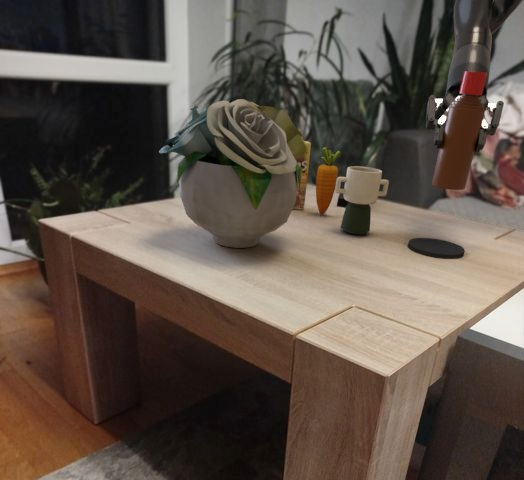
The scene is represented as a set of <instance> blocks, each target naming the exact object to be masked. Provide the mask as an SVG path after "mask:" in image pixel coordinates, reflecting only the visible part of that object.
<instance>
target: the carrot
mask: <svg viewBox="0 0 524 480" xmlns="http://www.w3.org/2000/svg"><path fill="white" fill-rule="evenodd" d="M321 150H322V153H323V156H322V157H321V160H322V161H323V164H320V165H319V166H318V168H317V171H316V181H315V199H316V200H315V201H316V206H317V209H318V212H319V214H320V216H324V215H325V214H326V212H327V211H328V209H329V207H330V205H331V203H332V200H333V196H334V194H335V187H336V180H337V178H338V174H339V168H338V166H336V165H334V163H335V162H336V160H337V159H338V157H339V156H340V155H341V154H342V153H341V151H340V150H337V151H336V152H335V153H332V151H331V150H330V149H327V147H326V146H325V147H323V148H322V149H321Z"/></svg>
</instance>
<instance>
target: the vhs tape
mask: <svg viewBox="0 0 524 480" xmlns="http://www.w3.org/2000/svg"><path fill="white" fill-rule="evenodd" d="M340 189H344V187H340ZM343 195H344V194H339V193H338V197H337V203H336V204H337V205H336V206H337V207H343V208H346V206H347V204H348V203H349V202H348V201H346V200H345V199H344V196H343Z"/></svg>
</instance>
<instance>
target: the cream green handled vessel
mask: <svg viewBox="0 0 524 480" xmlns="http://www.w3.org/2000/svg"><path fill="white" fill-rule="evenodd" d="M382 176H383V171H382V170H381V169H379V168H374V167H369V166H360V165H359V166H358V165H356V166H348V167H347V168H346V175H345V176H337V180H336V186H335V191H334V193H336V194H338V195H339V194H344V195H343V196H344V199H345V200H346V201H348V202H349V203H348V204H347V206H346V207H345V209H344V213H343V215H342V219H341V224H340V229H342V230H343V231H345V232H346V233H350V234H355V235H363V234H364V235H365V234H368V233H369V232H370V231H371V217H372V216H371V215H372V213H371V212H372V208H371V205H373V204H376V203H377V201H378V197H386V196H387V195H388V190H389V184H390V181H389V179H383V178H382ZM342 183H344V187H343V188H344V189H341V184H342ZM381 185H383V188H382V190H380V187H381Z"/></svg>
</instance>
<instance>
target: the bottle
mask: <svg viewBox="0 0 524 480" xmlns="http://www.w3.org/2000/svg"><path fill="white" fill-rule="evenodd" d="M484 108H485V106H483V103H481V100H479V96H478V95H470V94H463V95H460V98H457V101H454V103H451V105H450V106H449V108H448V113H447V117H446V122H445V126H444V133H443V140H442V144H441V147H440V149H438V153H437V158H436V162H435V166H434V171H433V175H432V180H431V186H433V187H435V188H439V189H443V190H449V191H450V190H453V191H462V190H465V189H466V187H467V182H468V178H469V174H470V171H471V167H472V163H473V159H474V156H475V153H476V152H475V148H476V144H477V140H478V136H479V132H480V129H481V125H482V121H483V117H484V114H485V113H486V111H485V109H484Z"/></svg>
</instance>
